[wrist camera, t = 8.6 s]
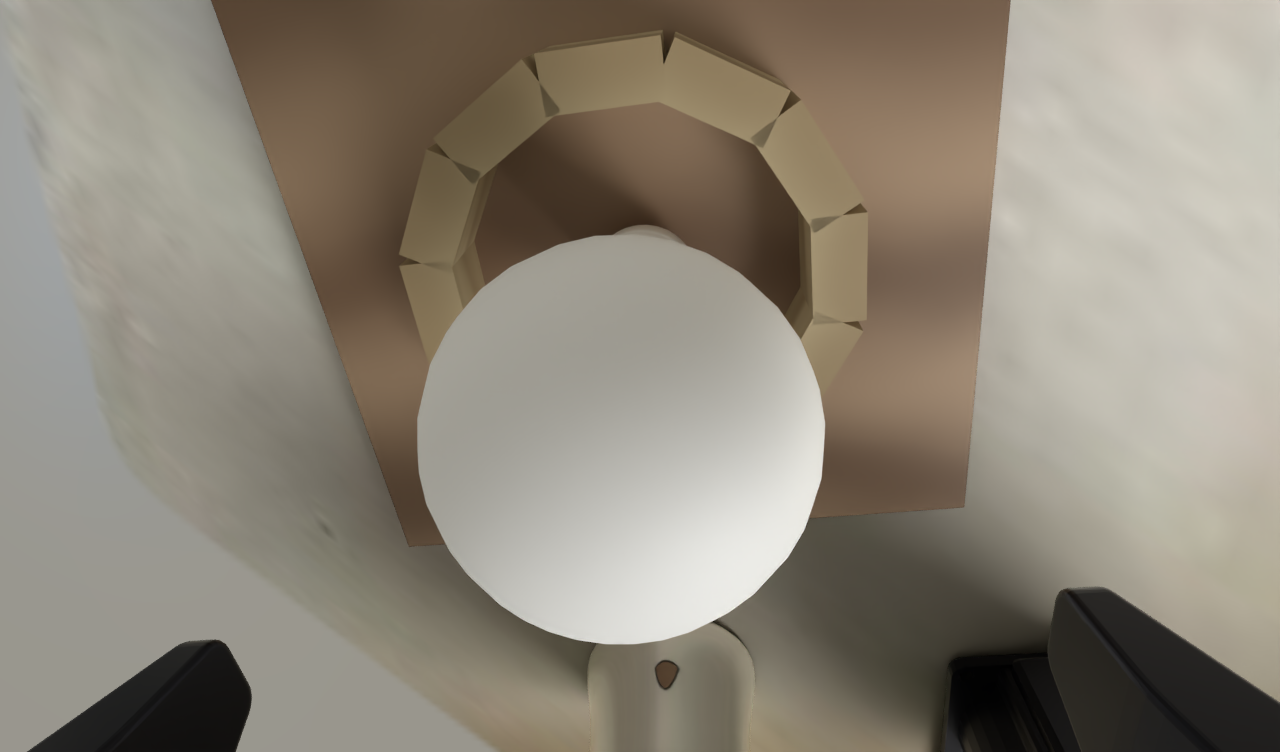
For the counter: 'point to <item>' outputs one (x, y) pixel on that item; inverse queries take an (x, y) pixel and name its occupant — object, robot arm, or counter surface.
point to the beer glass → (672, 694)
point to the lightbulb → (620, 438)
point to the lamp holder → (650, 188)
